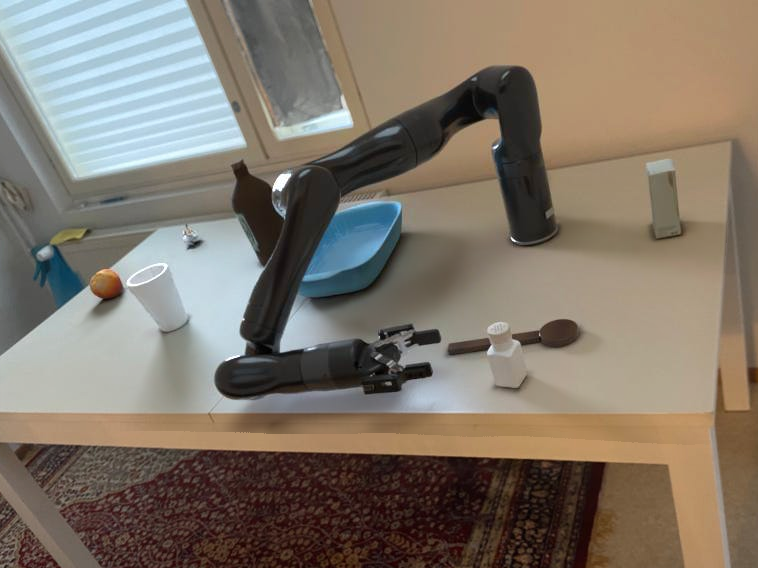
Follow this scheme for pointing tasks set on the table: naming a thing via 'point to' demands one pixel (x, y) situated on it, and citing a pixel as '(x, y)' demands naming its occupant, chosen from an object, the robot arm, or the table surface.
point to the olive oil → (256, 211)
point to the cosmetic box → (663, 198)
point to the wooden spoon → (527, 337)
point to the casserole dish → (353, 249)
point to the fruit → (106, 284)
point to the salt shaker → (505, 356)
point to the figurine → (190, 236)
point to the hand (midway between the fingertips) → (435, 351)
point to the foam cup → (159, 296)
